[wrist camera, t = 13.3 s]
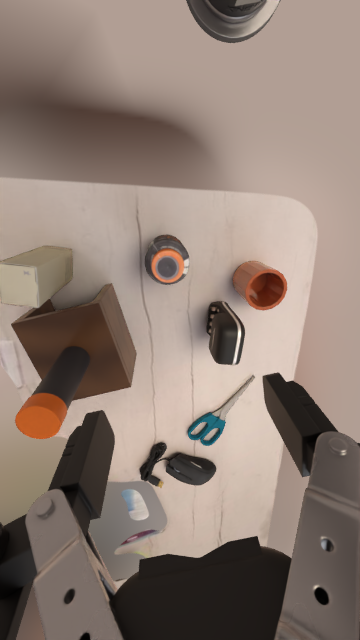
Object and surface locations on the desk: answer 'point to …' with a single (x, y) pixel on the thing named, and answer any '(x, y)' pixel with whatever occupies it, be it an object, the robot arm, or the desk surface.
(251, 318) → the desk surface
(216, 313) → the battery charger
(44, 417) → the cylinder
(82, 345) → the shelf
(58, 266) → the box
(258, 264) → the pen cup
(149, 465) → the computer mouse
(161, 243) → the pill bottle
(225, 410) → the scissors
